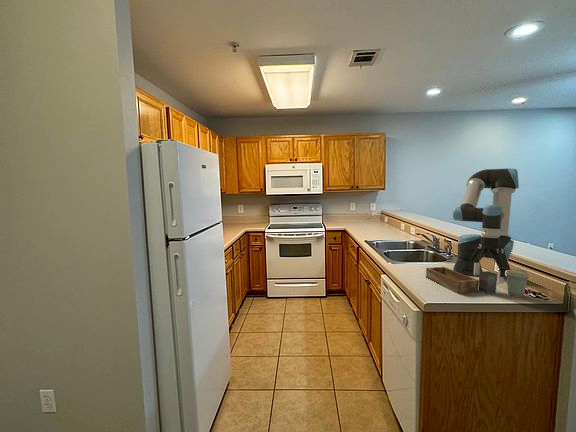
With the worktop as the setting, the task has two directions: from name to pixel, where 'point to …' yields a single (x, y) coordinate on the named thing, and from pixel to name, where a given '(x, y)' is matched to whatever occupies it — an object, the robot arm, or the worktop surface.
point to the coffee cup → (516, 282)
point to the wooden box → (452, 280)
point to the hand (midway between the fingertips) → (487, 279)
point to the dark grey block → (487, 282)
